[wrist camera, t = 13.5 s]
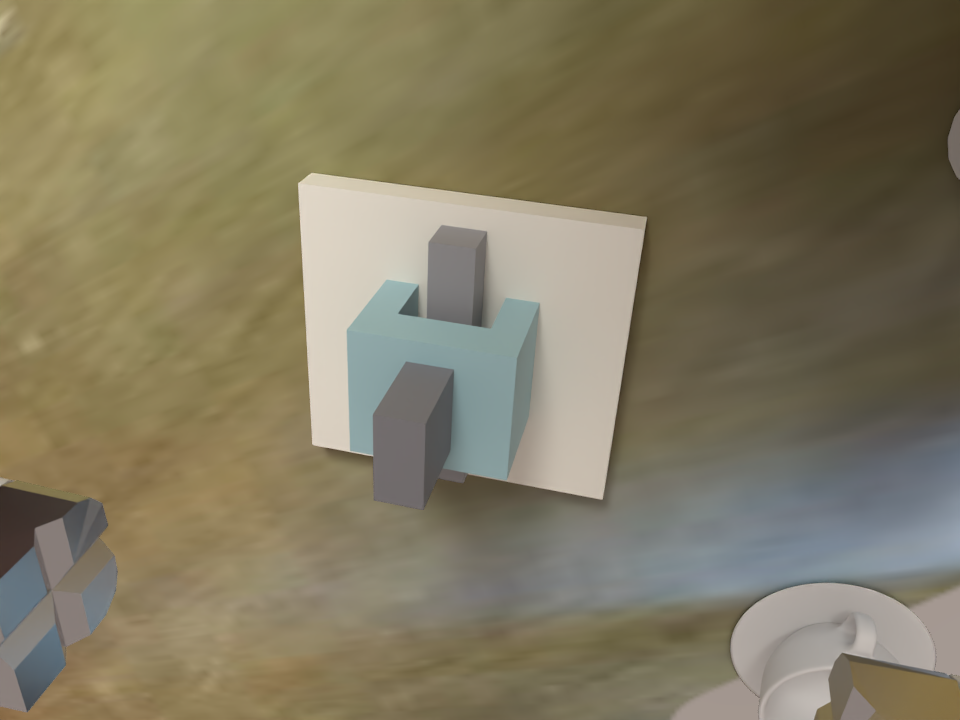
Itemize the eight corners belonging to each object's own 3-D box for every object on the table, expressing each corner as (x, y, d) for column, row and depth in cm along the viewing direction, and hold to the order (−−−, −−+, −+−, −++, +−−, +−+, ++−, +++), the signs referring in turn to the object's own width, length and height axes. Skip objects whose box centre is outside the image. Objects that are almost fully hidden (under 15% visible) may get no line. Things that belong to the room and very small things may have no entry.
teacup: (897, 734, 48) (912, 812, 44) (712, 688, 50) (711, 760, 46) (964, 602, 43) (988, 678, 39) (755, 556, 45) (759, 624, 41)
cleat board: (311, 172, 40) (278, 198, 37) (647, 216, 37) (640, 248, 34) (323, 428, 47) (296, 467, 44) (605, 481, 44) (597, 526, 41)
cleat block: (386, 279, 40) (306, 380, 32) (539, 302, 39) (494, 412, 31) (386, 392, 43) (314, 508, 35) (528, 417, 42) (485, 542, 34)
